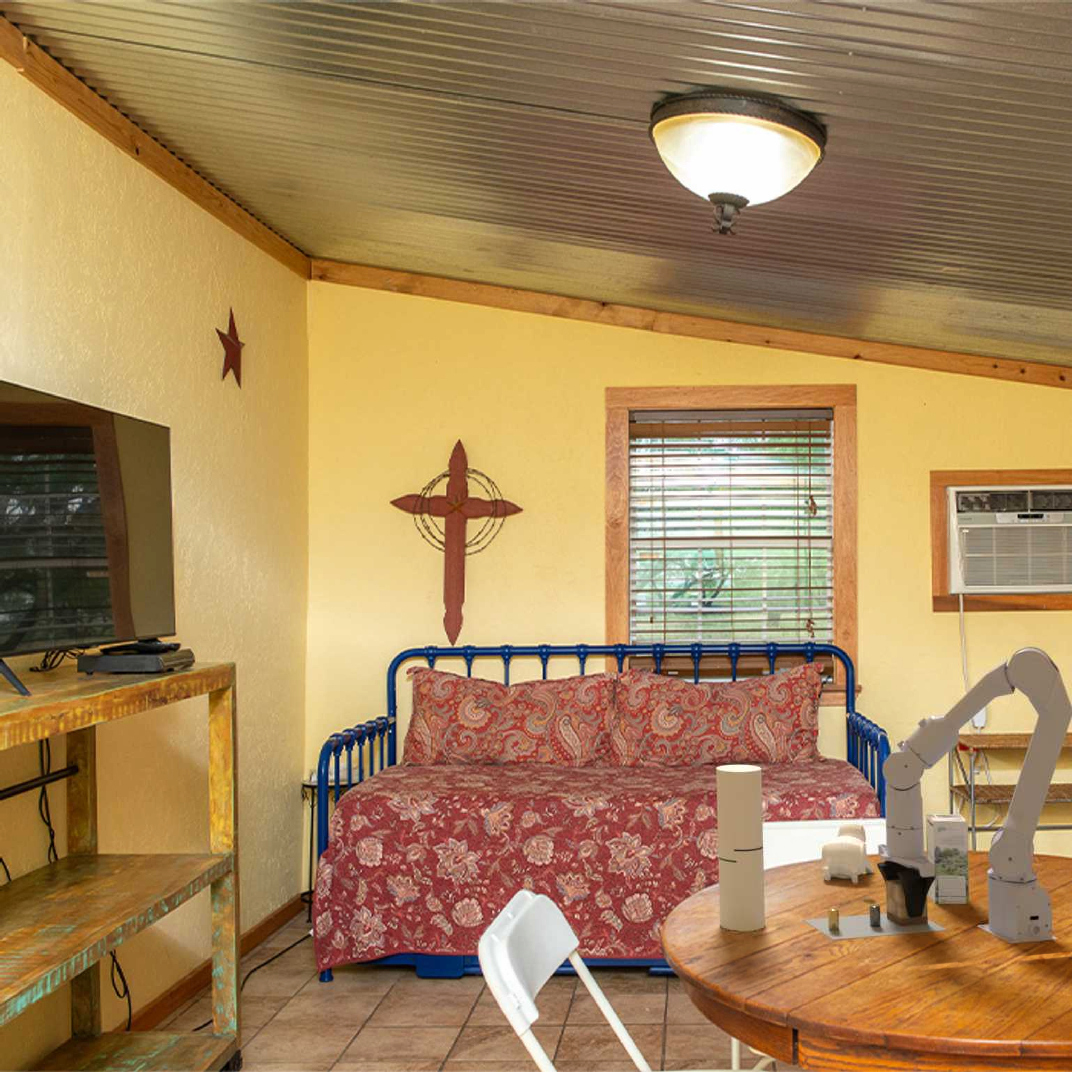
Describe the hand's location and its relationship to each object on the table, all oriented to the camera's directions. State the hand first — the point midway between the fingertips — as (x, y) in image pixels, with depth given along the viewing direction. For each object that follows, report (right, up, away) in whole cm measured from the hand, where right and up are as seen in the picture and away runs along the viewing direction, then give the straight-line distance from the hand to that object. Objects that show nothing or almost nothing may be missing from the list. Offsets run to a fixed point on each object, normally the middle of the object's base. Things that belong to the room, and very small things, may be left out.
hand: (906, 912), depth 196 cm
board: (-6, -2, -2) cm, 6 cm away
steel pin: (-6, -2, -2) cm, 6 cm away
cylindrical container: (-26, -3, +2) cm, 26 cm away
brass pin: (-13, -2, -4) cm, 13 cm away
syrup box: (+11, -2, +12) cm, 17 cm away
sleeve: (0, -1, 0) cm, 1 cm away
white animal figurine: (-1, -3, +33) cm, 33 cm away
